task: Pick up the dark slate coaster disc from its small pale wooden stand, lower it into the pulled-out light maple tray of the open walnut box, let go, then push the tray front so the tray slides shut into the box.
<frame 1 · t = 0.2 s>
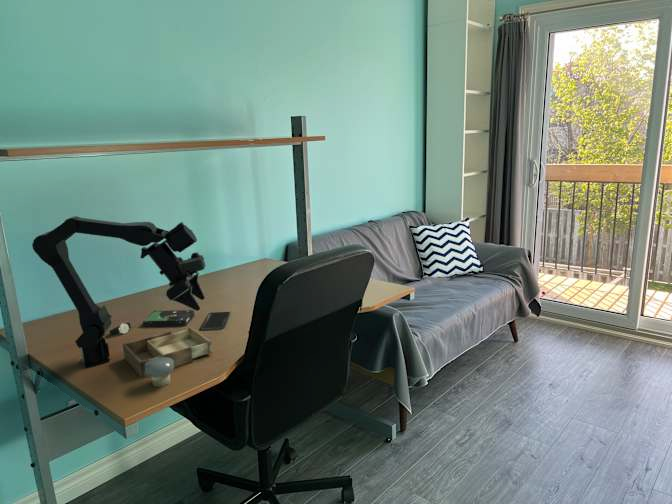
hand: (201, 304, 144), 15 cm above the table, tool tilted 30°, fingers open, 9 cm apart
tray: (180, 345, 147), point 3 cm above the table, slide at 5.5 cm
housing: (158, 360, 143), on the table
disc: (160, 370, 129), point 3 cm above the table, touching stand
phone: (216, 323, 172), on the table
watch: (120, 333, 165), on the table
disk drive: (169, 323, 174), on the table
stand: (161, 382, 130), on the table
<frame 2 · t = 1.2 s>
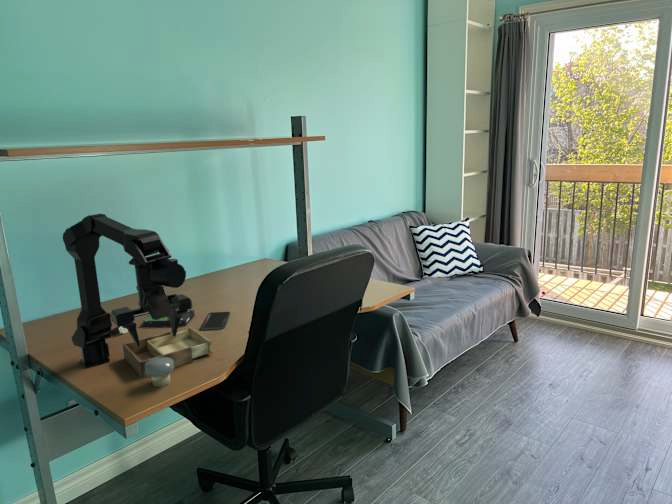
hand: (156, 341, 127), 12 cm above the table, tool pointing down, fingers open, 9 cm apart
nothing on the table moved.
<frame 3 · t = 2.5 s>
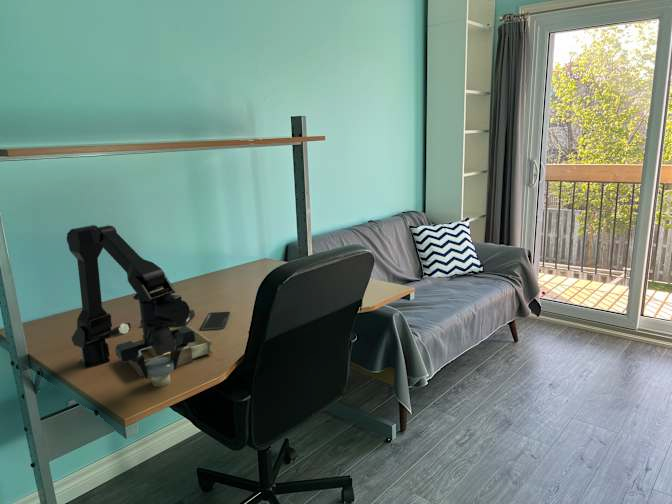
hand: (160, 373, 129), 3 cm above the table, tool pointing down, fingers closed on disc, 7 cm apart
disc: (160, 370, 129), point 3 cm above the table, touching gripper, stand
everything else where it was.
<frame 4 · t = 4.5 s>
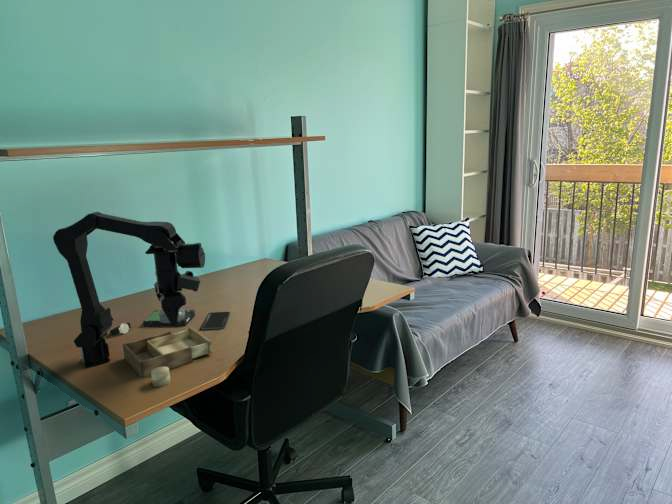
hand: (172, 321, 141), 11 cm above the table, tool pointing down, fingers closed on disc, 7 cm apart
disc: (172, 318, 141), point 12 cm above the table, touching gripper
everything else where it was.
when the fingers open (2 cm above the table, at t = 6.9 s): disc drops 2 cm, resting on tray.
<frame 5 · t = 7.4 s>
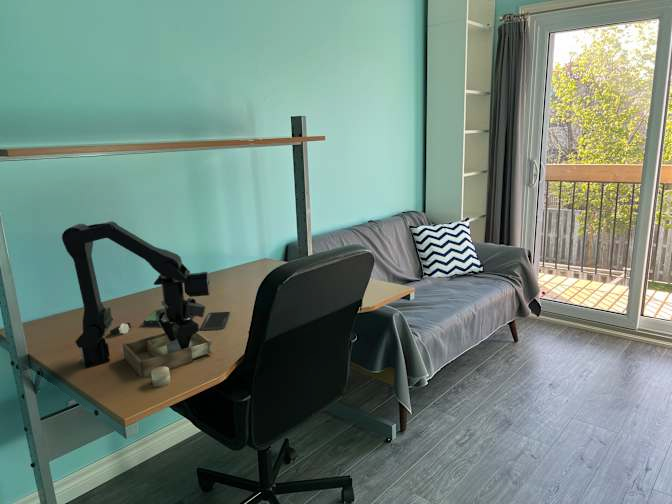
hand: (179, 348, 147), 2 cm above the table, tool pointing down, fingers open, 9 cm apart
tray: (180, 345, 147), point 3 cm above the table, slide at 5.5 cm, touching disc
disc: (179, 350, 147), point 1 cm above the table, touching tray
everything else where it was.
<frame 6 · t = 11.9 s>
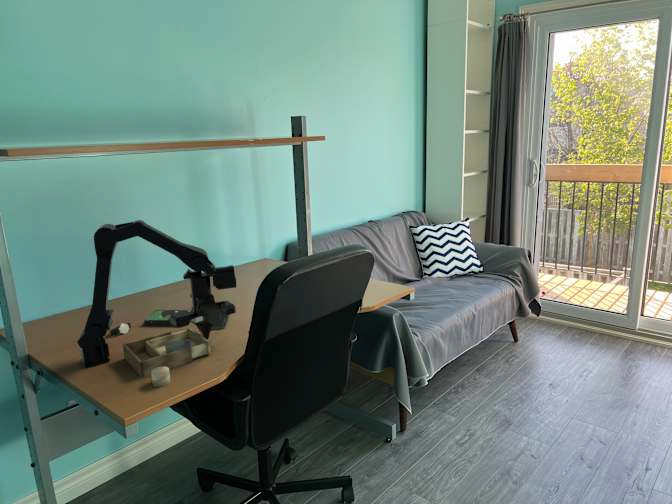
hand: (206, 340, 152), 2 cm above the table, tool pointing down, fingers closed
tray: (179, 345, 146), point 3 cm above the table, slide at 5.0 cm, touching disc, gripper
everything else where it was.
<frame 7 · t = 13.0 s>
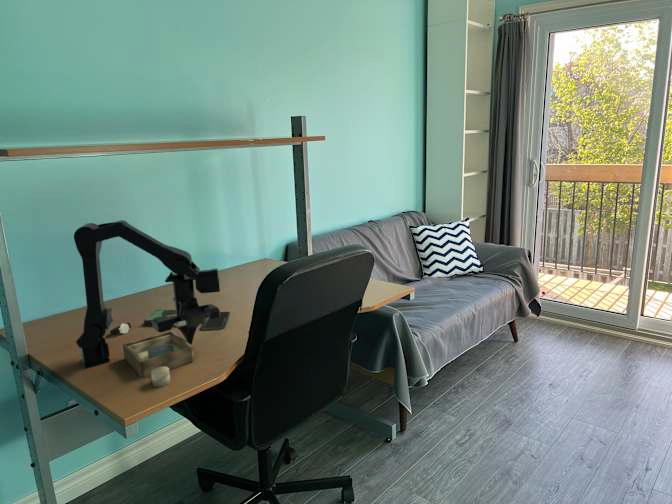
hand: (189, 344, 148), 2 cm above the table, tool pointing down, fingers closed
tray: (161, 350, 143), point 3 cm above the table, slide at 0.0 cm, touching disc, gripper
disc: (161, 355, 143), point 1 cm above the table, touching tray
everything else where it was.
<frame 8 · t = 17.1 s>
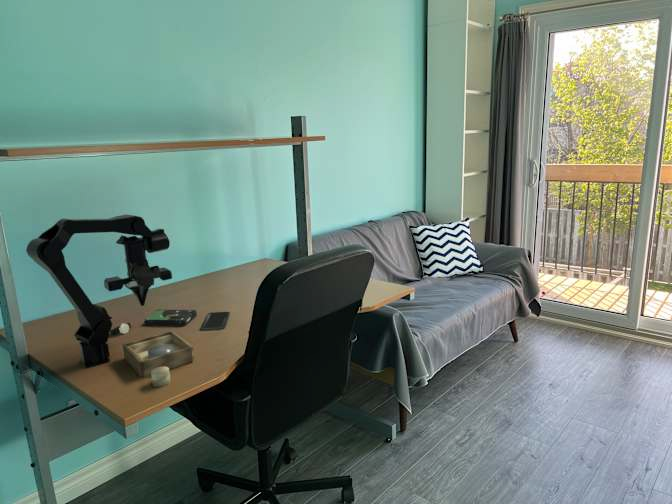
hand: (142, 305, 154), 12 cm above the table, tool pointing down, fingers closed
tray: (161, 350, 143), point 3 cm above the table, slide at 0.0 cm, touching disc
everything else where it was.
at the end: tray slide at 0.0 cm; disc inside the target area on the housing (0.6 cm from its centre), point 1.1 cm above the housing's base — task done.
